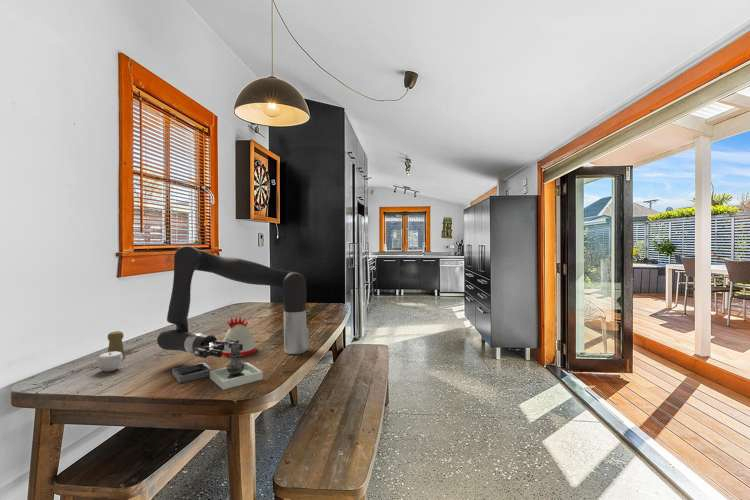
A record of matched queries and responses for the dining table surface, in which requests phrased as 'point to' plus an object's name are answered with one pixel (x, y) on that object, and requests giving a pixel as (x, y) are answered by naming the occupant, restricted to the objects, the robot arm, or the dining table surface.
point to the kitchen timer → (240, 337)
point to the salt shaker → (235, 362)
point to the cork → (116, 342)
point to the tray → (224, 382)
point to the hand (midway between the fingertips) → (231, 350)
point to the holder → (177, 373)
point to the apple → (109, 361)
